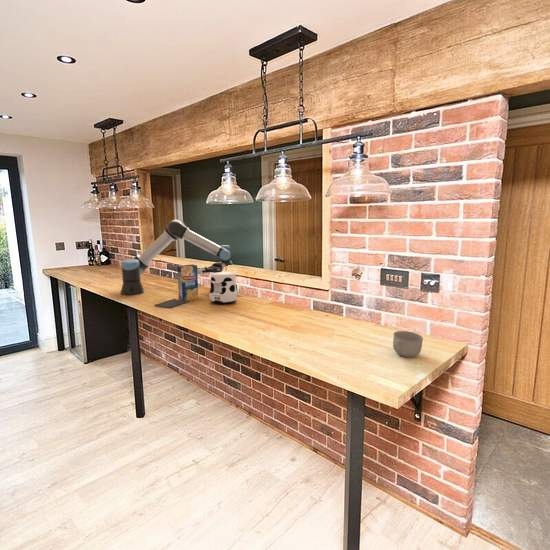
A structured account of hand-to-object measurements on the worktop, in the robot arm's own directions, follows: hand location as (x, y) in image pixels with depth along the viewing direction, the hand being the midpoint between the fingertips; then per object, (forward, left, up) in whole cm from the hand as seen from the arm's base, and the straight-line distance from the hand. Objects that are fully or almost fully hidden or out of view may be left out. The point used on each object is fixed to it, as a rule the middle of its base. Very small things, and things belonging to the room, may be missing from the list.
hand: (198, 272), depth 246 cm
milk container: (+26, -9, -16) cm, 32 cm away
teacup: (+139, -54, -16) cm, 150 cm away
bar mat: (0, -27, -16) cm, 31 cm away
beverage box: (0, -11, -16) cm, 20 cm away
